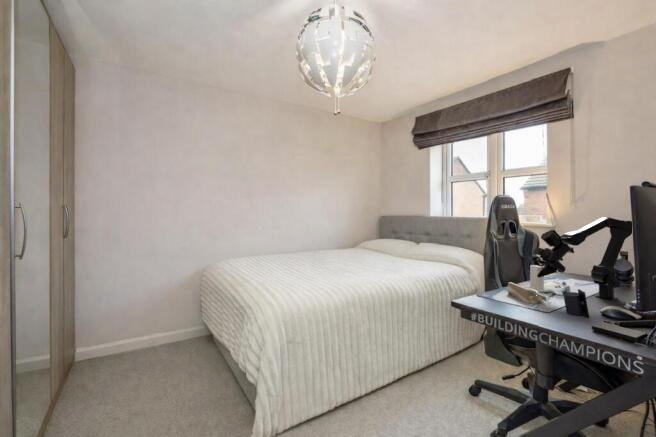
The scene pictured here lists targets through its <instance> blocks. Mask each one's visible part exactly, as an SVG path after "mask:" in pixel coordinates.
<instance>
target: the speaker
mask: <svg viewBox="0 0 656 437" xmlns="http://www.w3.org/2000/svg"><path fill="white" fill-rule="evenodd" d="M562 294H563V298H564V299H563V300H564V307H565V311H566V314H568V315H572V316H581V315H583V316H585V317H587V319H589V318H590V313H589V308H588V302H587V301H588V300H587V296H586V291H584V290H581V289H579V288H578V289H577V292H573V291H572V292H571V291H570V292H569V291H568V292H564V293H562Z"/></svg>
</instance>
